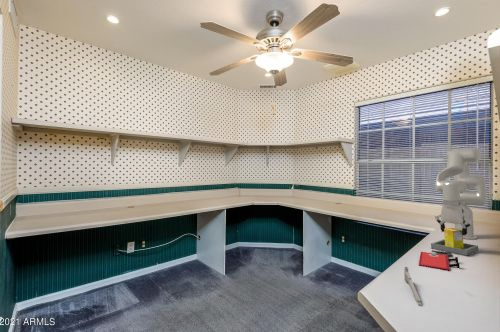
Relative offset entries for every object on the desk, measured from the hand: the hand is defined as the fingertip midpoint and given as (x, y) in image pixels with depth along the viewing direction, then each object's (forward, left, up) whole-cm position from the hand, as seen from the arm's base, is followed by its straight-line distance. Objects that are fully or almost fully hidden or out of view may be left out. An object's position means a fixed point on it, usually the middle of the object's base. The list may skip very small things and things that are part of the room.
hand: (453, 233), depth 137 cm
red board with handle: (+27, +3, -10) cm, 29 cm away
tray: (+1, 0, -9) cm, 9 cm away
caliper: (+74, +13, -10) cm, 75 cm away
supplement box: (+1, 0, -9) cm, 9 cm away
